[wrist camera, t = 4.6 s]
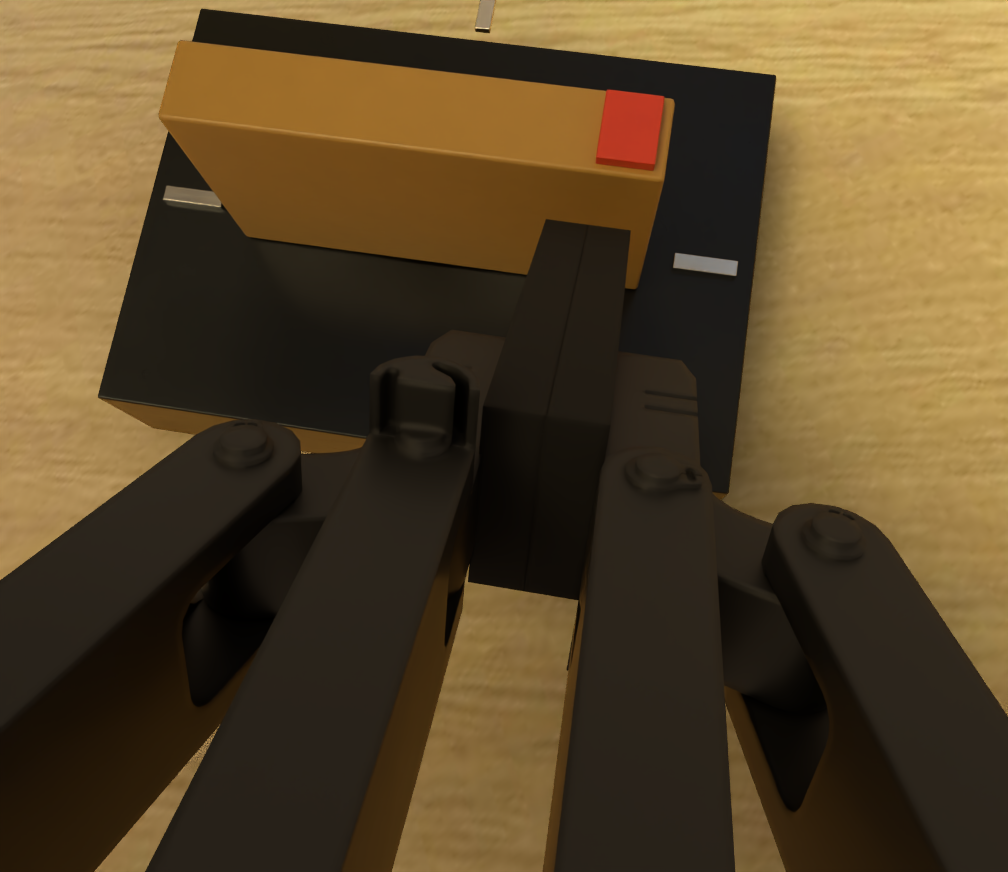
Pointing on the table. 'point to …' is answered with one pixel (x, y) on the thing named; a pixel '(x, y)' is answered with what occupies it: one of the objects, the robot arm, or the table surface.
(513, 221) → the rectangular block
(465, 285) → the knob panel
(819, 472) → the table surface
